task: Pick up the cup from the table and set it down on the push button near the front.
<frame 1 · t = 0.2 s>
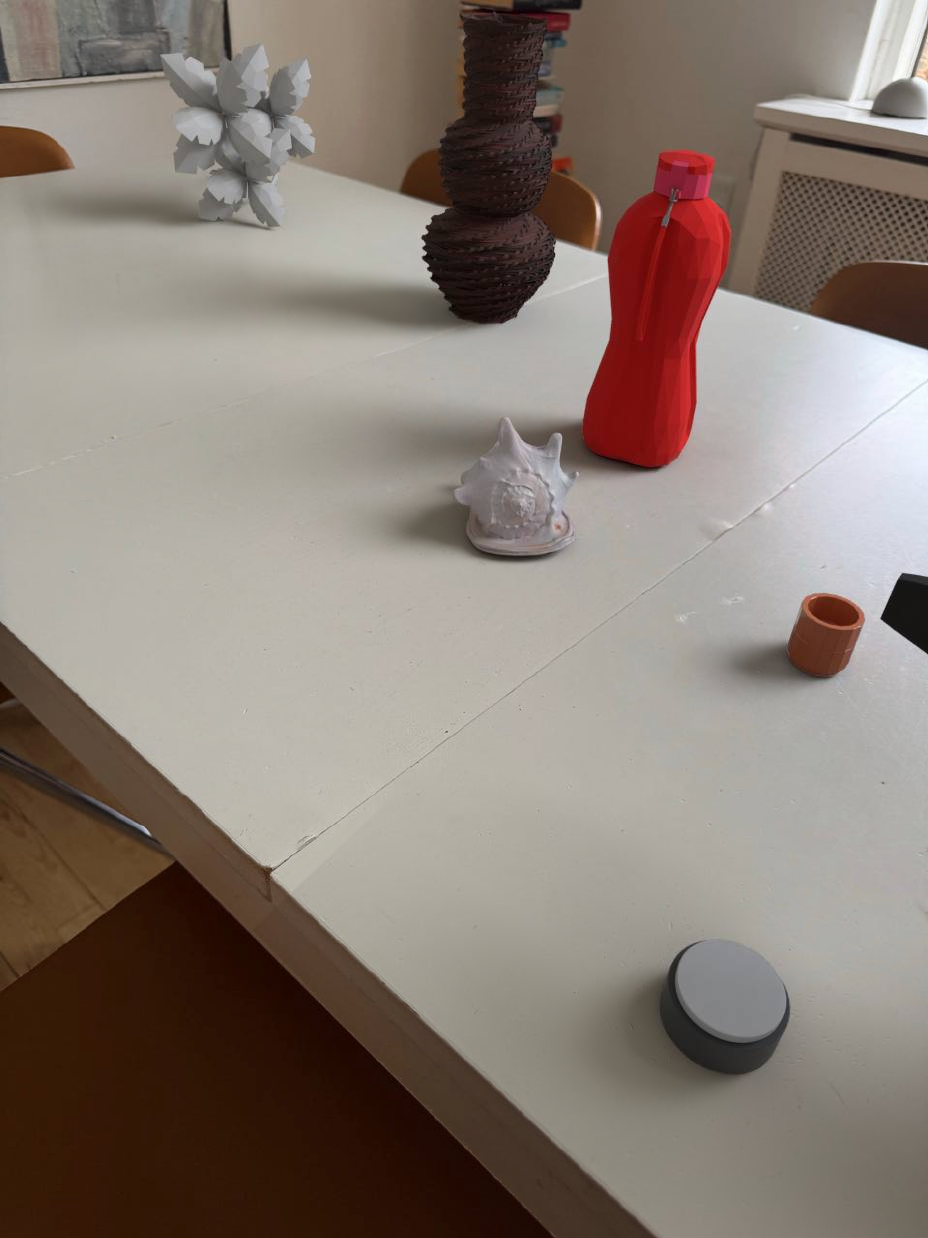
hand: (917, 556, 41), 19 cm above the table, tool horizontal, fingers open, 7 cm apart
cup: (815, 660, 66), on the table
seashell: (505, 522, 78), on the table
push button: (718, 1016, 44), on the table
water bottle: (630, 451, 89), on the table
flower bouquet: (243, 207, 144), on the table
vase: (483, 313, 115), on the table
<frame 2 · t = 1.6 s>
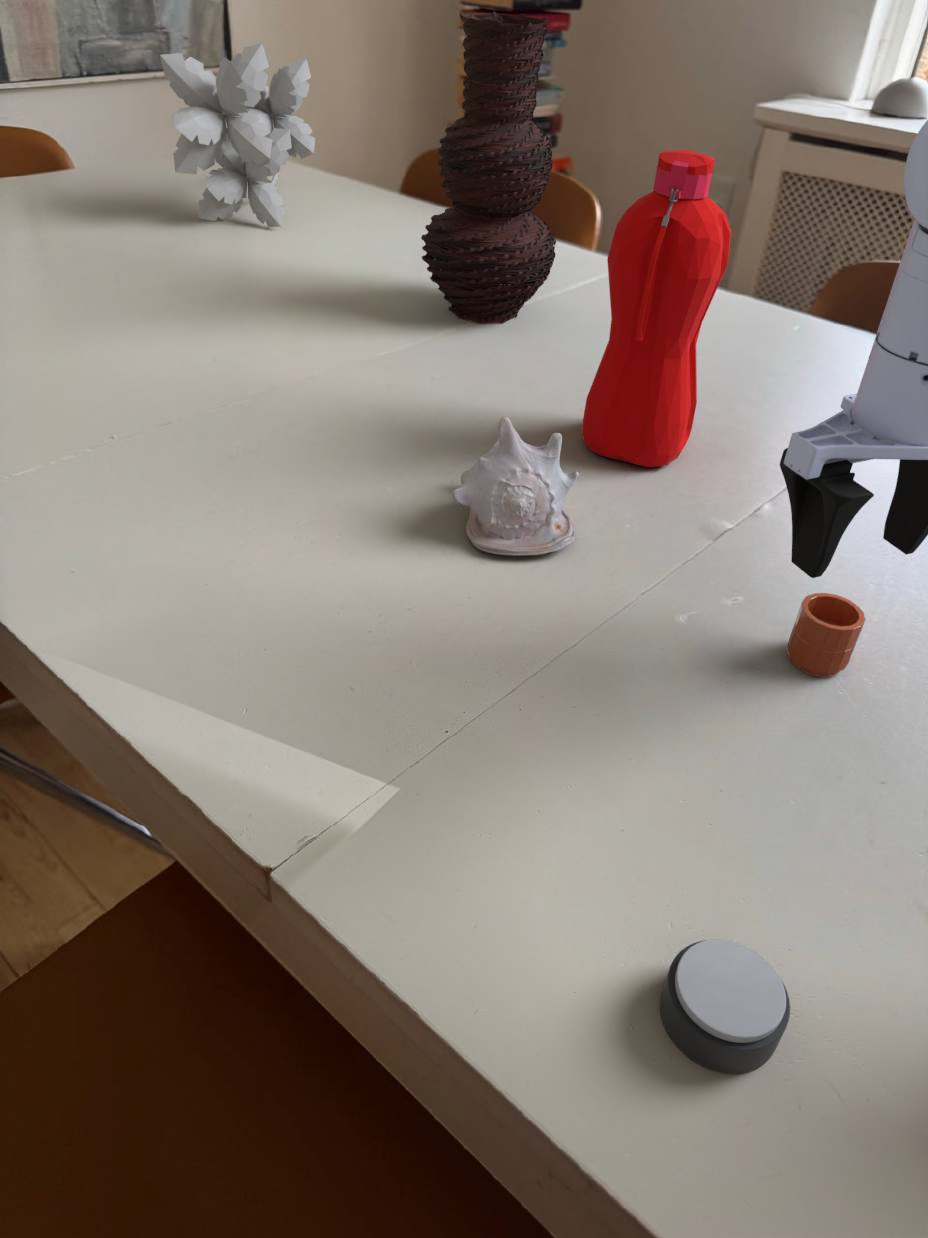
hand: (853, 556, 60), 8 cm above the table, tool pointing down, fingers open, 7 cm apart
nothing on the table moved.
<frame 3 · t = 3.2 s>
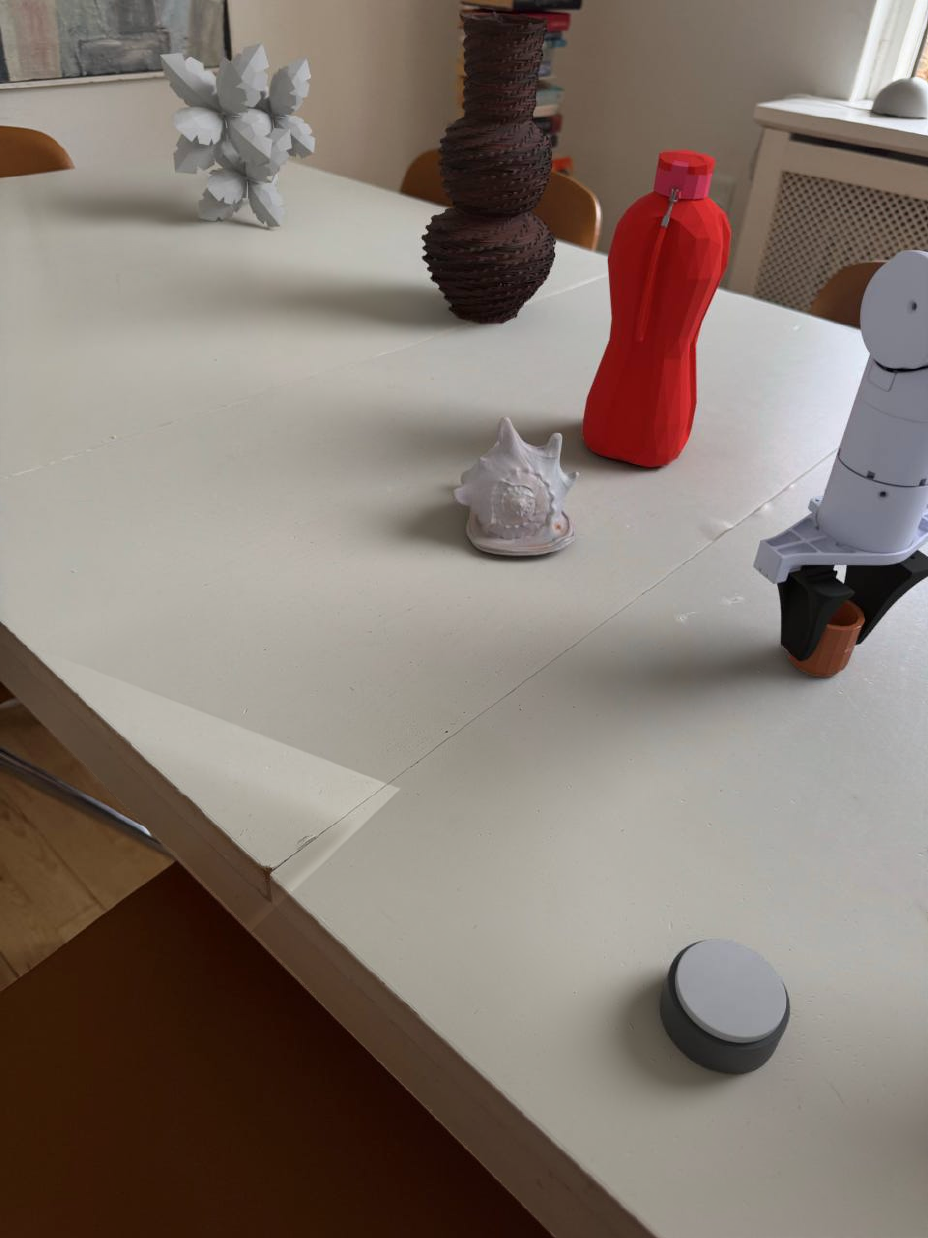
hand: (821, 643, 65), 1 cm above the table, tool pointing down, fingers closed on cup, 4 cm apart
cup: (814, 660, 66), on the table, touching gripper
everything else where it was.
when the fingers open (4 cm above the table, at t = 8.0 s): cup stays where it is, resting on push button.
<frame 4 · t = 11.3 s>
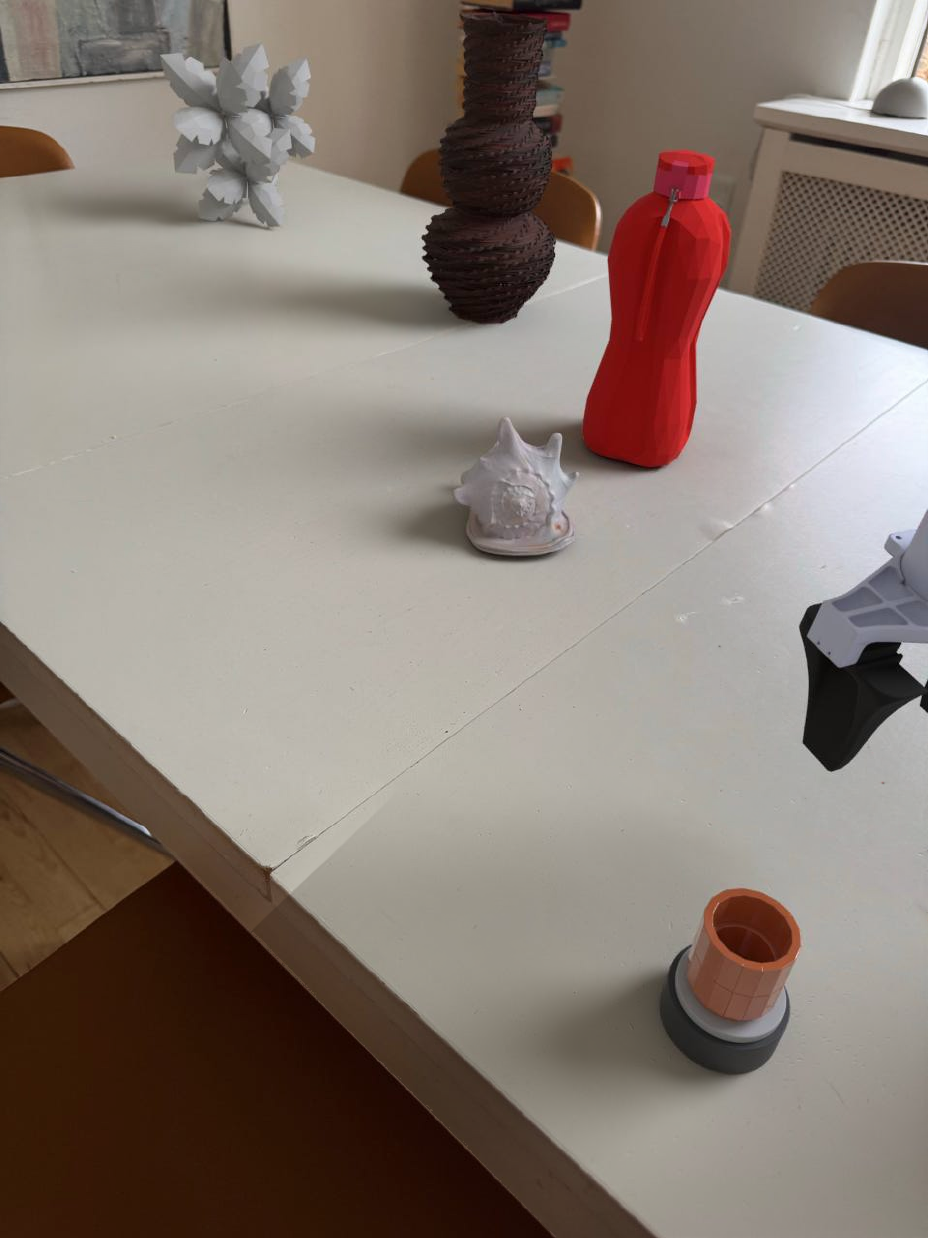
hand: (881, 736, 46), 9 cm above the table, tool pointing down, fingers open, 7 cm apart
cup: (729, 984, 43), point 2 cm above the table, touching push button
everything else where it was.
at the end: cup 0.1 cm off-centre on the push button, point 2.5 cm above the push button's base; cup tilted 0°; the gripper is holding nothing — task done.
